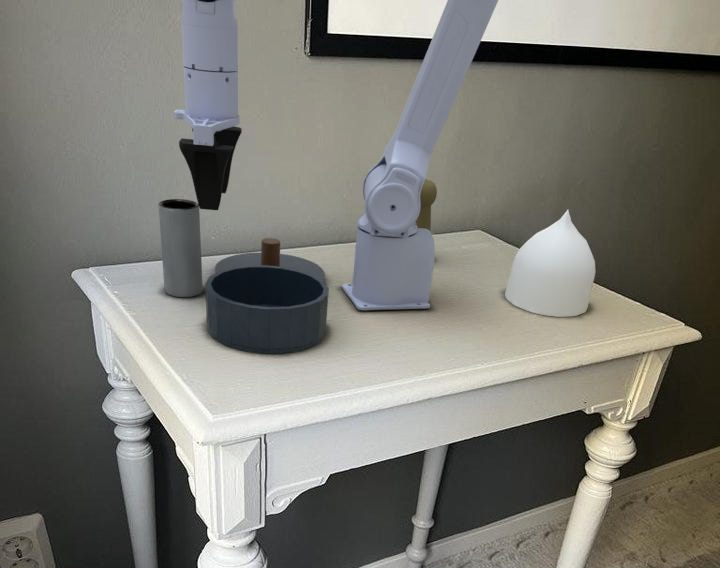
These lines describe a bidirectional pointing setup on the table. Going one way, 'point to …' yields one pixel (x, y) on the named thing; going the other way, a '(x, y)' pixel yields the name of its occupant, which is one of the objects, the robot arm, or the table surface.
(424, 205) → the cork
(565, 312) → the teardrop
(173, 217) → the gray hollow cylinder
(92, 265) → the table surface
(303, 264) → the pan lid
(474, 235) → the table surface
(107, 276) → the table surface
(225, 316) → the pan
